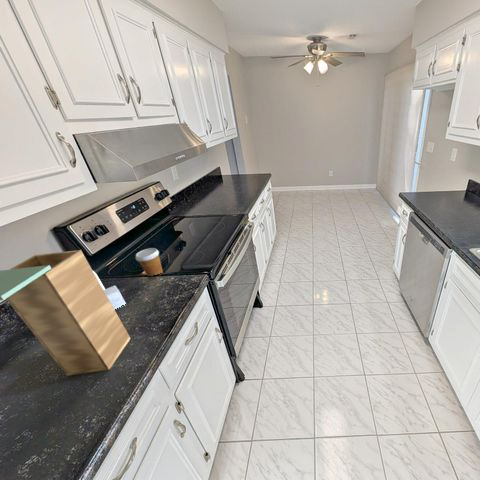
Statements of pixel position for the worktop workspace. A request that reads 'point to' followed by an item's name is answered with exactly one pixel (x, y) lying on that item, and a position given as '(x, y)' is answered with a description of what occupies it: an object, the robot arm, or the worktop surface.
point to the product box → (114, 297)
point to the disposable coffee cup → (150, 261)
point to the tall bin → (70, 313)
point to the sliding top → (18, 279)
